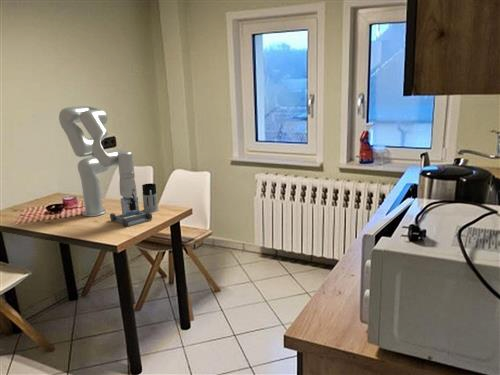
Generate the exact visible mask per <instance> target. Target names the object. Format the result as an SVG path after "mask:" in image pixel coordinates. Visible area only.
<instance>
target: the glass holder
mask: <svg viewBox="0 0 500 375" xmlns="http://www.w3.org/2000/svg"><path fill="white" fill-rule="evenodd" d="M141 187H142V201H143V202H142V203H143V211H142V212H143V213H145V214H146V213H148V212H150V213H151V214H153V213H156V212H159V210H160V209H159V207H158V194H157V184H156V183H145V184H142V185H141Z"/></svg>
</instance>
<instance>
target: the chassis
mask: <svg viewBox="0 0 500 375" xmlns="http://www.w3.org/2000/svg"><path fill="white" fill-rule="evenodd" d="M109 219H110V220H111V222H117V223H119V224H121V225H122V226H123V227H132V226H136V225H139V224H144V223H147V222H151V220H152V219H153V213H150V212H148V213H146V212H143V211H140V210H139V213H135V214H131V215H124V214H122V213H121V214H117V215H116V213H114V212H113V213H110V214H109Z"/></svg>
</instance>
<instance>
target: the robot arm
mask: <svg viewBox="0 0 500 375" xmlns="http://www.w3.org/2000/svg"><path fill="white" fill-rule="evenodd" d="M58 121H59V124H60V127H61V128H62V130H63V132H64V133H65V135H66V138H67V139H68V142H69V143H70V146H71V148H72V151H73V152H74V154H75V156H76V157H78V158H83V157H85V158H83V159H81V160H80V161H78V164H77V171H78V173H79V177H80V181H81V189H82V196H83V203H84V211H83V212H82V216H83V217H97V216H101V215H102V216H103V215H104V214H106V213H107V210H106V208H104V205H103V199H102V198H103V197H102V188H101V187H102V186H101V182H100V179H99V178H98V176H97V174H102V173H105V172H107V171H108V170H109V169H110V167H113V166H114V167H115V166H118V174H119V195H120V196H121V197H122V198H129V200H130V203H129V205H130V211H133V210H136V204H135V203H136V199H137V197H138V196H137V195H138V192H137V185H136V180H135V177H136V176H135V166H134V157H133V153H132V152H131V151H124V150H120V149H116V150H111V151H110V150H109V151H107V152H106V151H105V149H104V146H103V145H102V141H104V139H106V138H107V136H108V134H109V133H108V132H109V131H108V130H107V129H106V127H105V124H107V122H108V115H107V113H106V112H105V111H104V110H103V109H100V108H97V107H93V106H90V105H89V106H88V105H80V106H79V105H78V106H68V107H64V108H62V109H61V110H60V112H59V114H58ZM76 123H82V125H83V126H84V128H85V130H86V131H87V133H88V134H89V135H90V137H89V138H87V137H86V136H85V133H84V131H83V129H81V127H80V126H79V125H77V124H76ZM90 156H91V157H90ZM86 157H87V158H86ZM131 196H133V197H131ZM131 198H133V199H132V200H131Z"/></svg>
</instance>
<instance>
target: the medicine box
mask: <svg viewBox="0 0 500 375" xmlns="http://www.w3.org/2000/svg"><path fill="white" fill-rule="evenodd" d="M131 197H133V196H131ZM132 199H133V198H131V200H132ZM129 203H130V200H129V198H123V197H122V198H120V205H121V206H120V207H121V214H124V215H131V214H135V213H139V211H140V206H139V197H138V196H137V199H136V203H135V204H136V210H133V211H130V205H129Z"/></svg>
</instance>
